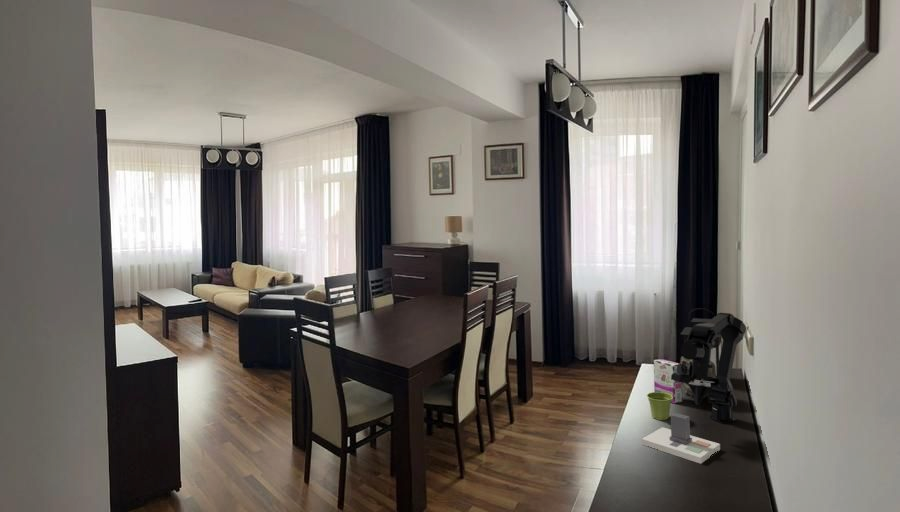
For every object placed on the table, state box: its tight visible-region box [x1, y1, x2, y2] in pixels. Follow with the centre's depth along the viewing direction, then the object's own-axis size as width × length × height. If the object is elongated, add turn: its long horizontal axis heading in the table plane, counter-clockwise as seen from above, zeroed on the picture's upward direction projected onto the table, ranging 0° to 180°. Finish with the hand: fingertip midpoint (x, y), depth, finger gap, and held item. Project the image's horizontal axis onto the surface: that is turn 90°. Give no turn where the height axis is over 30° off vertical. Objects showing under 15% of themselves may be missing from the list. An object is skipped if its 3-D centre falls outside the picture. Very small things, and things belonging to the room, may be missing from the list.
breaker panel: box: [641, 426, 721, 465], centre depth 169 cm, size 14×20×2 cm
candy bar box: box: [653, 358, 683, 404], centre depth 213 cm, size 11×5×16 cm, turn 23°
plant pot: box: [646, 391, 673, 421], centre depth 194 cm, size 9×9×9 cm
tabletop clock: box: [679, 355, 716, 399], centre depth 212 cm, size 14×9×25 cm, turn 178°
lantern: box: [680, 307, 722, 374], centre depth 236 cm, size 17×17×35 cm
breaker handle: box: [670, 412, 692, 445], centre depth 169 cm, size 4×6×8 cm
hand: (697, 404), depth 176 cm, fingers closed
